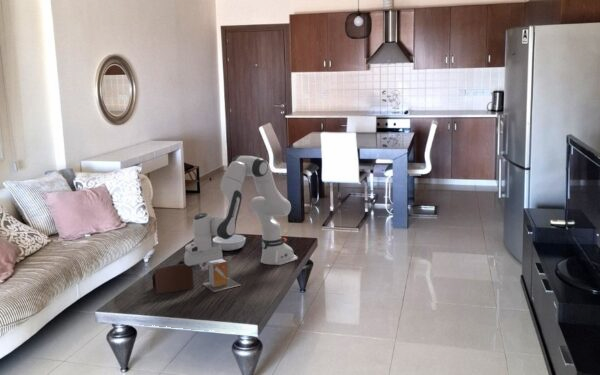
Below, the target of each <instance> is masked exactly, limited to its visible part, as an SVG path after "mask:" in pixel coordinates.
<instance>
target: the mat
mask: <svg viewBox="0 0 600 375" xmlns="http://www.w3.org/2000/svg"><path fill="white" fill-rule="evenodd" d="M227 279H228V285H223V286H218V287H213V286H211V285H210V283H209V282H205V283H202V285H203V286H204V287H206V288H207V289H208V290H210V291H211V292H212V293H217V292H222V291H226V290H230V288H231V289H234V287H235V288H238V286H239V287H242V284H240V283H239V282H237V281H235V280H234V279H233V278H231V277H227Z"/></svg>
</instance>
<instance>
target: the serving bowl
mask: <svg viewBox="0 0 600 375" xmlns="http://www.w3.org/2000/svg"><path fill="white" fill-rule="evenodd" d="M246 238H247V237H245V236H244V235H241V234H235V233H234V235H233V236H232V237H231V238H229V239H223V238H221V237H218V236H215V237H213V238H212V243H216V242H219V244H220V243H221V245H222V248H221V250H222V251H228V252H230V251H231V252H232V251H235V250H239V249H240V248H242V247H243V246H244V245H245V243H246Z"/></svg>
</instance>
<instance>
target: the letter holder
mask: <svg viewBox="0 0 600 375" xmlns="http://www.w3.org/2000/svg"><path fill="white" fill-rule="evenodd" d="M153 272H154V273H153V274H152V275H151V278H152V279H151V280H152V288H153V290H154V293H155V294H156V295H159V294H167V293H173V292H178V291H184V290H190V289H194V288H195V286H194V285H195V284H194V273H193V268H192V265H191V266H187V265H186V264H182V265H177V264H174V265H173V264H172V265H168V266H163V267H160V268H157V269H154V271H153Z"/></svg>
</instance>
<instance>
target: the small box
mask: <svg viewBox="0 0 600 375" xmlns="http://www.w3.org/2000/svg"><path fill="white" fill-rule="evenodd" d="M208 275H209V276H208V279H209V280H208V281H209V283H210V285H211V286H213V287H218V286H223V285H228V279H227V278H228V262H227V261H226V260H225V259H224V258H222V259H219V260H214V261H210V262H209V265H208Z"/></svg>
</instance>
